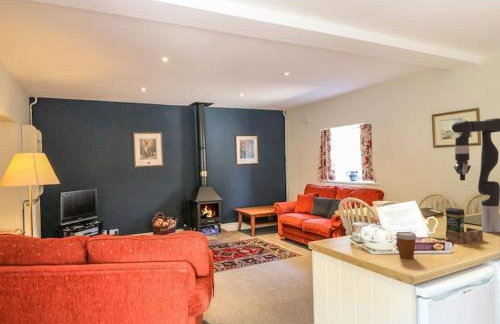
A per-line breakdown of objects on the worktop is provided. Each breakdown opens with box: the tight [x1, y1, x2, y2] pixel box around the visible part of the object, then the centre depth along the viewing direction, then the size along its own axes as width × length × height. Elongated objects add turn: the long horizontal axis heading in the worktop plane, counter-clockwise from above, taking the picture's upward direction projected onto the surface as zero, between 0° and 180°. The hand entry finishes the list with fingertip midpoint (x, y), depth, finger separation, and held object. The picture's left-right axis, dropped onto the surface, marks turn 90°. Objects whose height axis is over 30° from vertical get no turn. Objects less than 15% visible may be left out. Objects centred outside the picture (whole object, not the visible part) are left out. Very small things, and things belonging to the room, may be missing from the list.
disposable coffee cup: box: [395, 231, 418, 260], centre depth 162 cm, size 10×10×12 cm
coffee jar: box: [445, 207, 465, 238], centre depth 197 cm, size 10×8×19 cm
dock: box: [446, 227, 484, 245], centre depth 192 cm, size 19×9×6 cm, turn 112°
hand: (462, 180), depth 204 cm, fingers closed
